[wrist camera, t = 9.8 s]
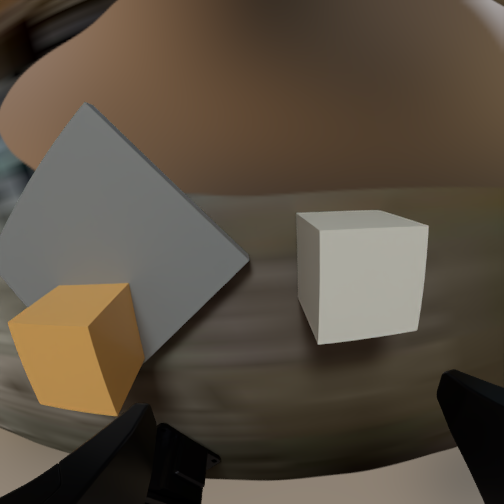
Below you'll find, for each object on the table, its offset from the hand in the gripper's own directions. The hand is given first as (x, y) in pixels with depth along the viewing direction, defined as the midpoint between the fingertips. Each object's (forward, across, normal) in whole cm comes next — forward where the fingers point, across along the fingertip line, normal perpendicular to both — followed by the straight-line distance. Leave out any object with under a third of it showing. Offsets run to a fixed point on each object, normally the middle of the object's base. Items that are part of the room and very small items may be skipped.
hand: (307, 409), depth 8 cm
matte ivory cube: (+12, -4, -1) cm, 13 cm away
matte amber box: (+11, +11, +2) cm, 16 cm away
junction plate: (+12, +11, -2) cm, 17 cm away
